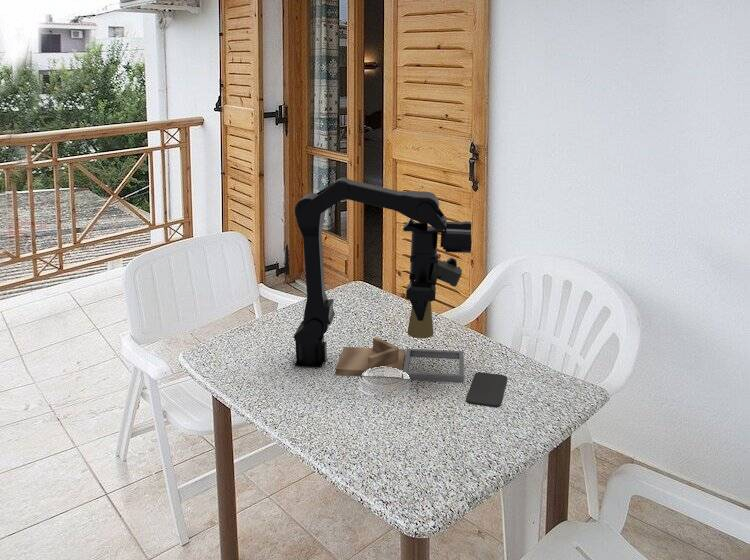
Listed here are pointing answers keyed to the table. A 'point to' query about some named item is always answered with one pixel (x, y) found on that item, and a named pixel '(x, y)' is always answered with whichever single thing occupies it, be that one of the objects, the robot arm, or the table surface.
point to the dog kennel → (370, 358)
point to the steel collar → (435, 376)
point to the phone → (487, 389)
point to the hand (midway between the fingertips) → (421, 316)
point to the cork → (421, 324)
